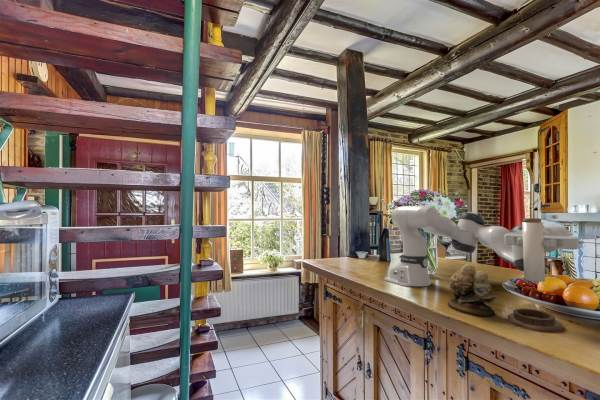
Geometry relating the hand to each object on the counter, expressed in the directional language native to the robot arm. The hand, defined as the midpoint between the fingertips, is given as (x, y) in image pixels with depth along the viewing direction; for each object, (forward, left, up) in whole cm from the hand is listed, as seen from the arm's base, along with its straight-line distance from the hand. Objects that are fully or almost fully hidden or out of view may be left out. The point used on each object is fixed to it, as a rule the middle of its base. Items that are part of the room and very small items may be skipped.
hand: (532, 242), depth 99 cm
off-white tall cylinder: (0, +1, -12) cm, 12 cm away
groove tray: (0, -2, -26) cm, 26 cm away
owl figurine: (-18, -4, -26) cm, 32 cm away
